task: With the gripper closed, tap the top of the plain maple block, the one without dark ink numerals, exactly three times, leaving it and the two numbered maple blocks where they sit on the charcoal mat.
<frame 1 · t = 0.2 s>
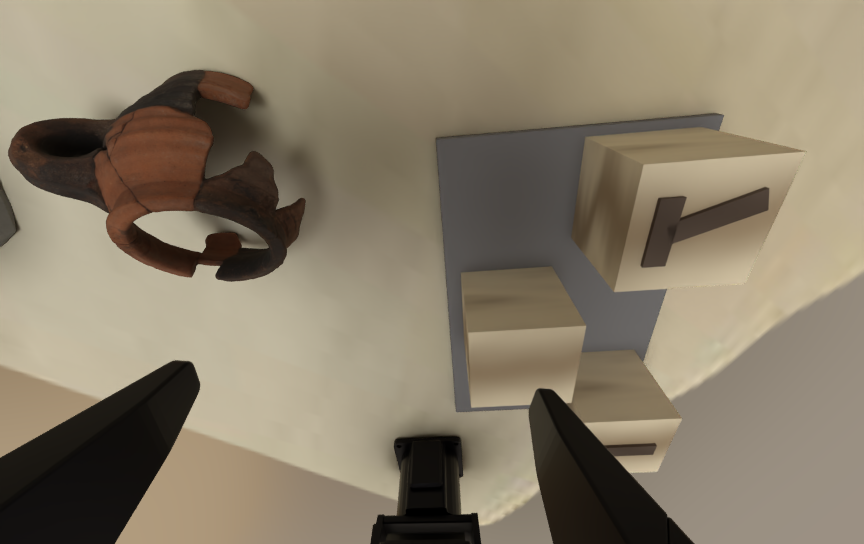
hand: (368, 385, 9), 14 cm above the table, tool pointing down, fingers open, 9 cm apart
charcoal mat: (552, 297, 25), on the table
numbered block seven: (630, 187, 20), point 1 cm above the table, touching charcoal mat
plain block: (504, 305, 24), point 1 cm above the table, touching charcoal mat
numbered block one: (588, 378, 28), point 1 cm above the table, touching charcoal mat
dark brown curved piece: (218, 162, 20), on the table
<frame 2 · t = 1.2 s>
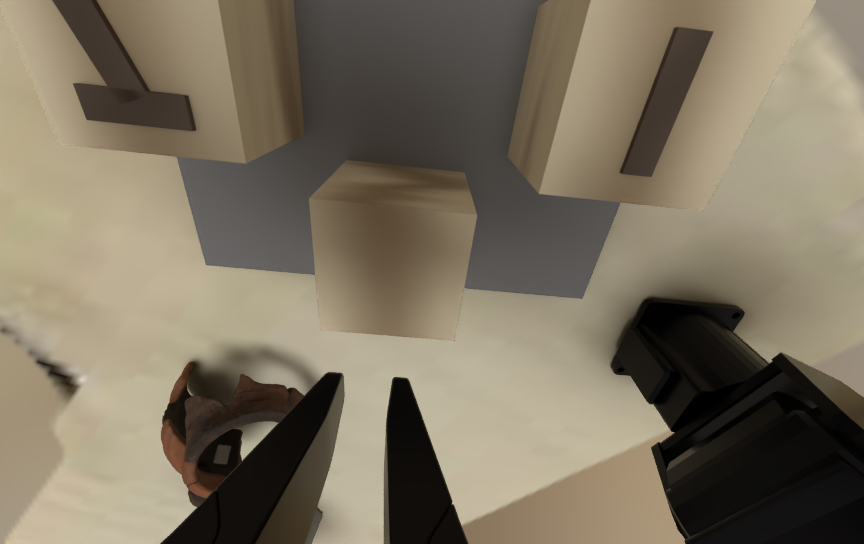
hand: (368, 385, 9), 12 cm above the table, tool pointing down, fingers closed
charcoal mat: (407, 153, 18), on the table
numbered block seven: (229, 54, 15), point 1 cm above the table, touching charcoal mat
plain block: (402, 221, 19), point 1 cm above the table, touching charcoal mat
numbered block one: (585, 96, 16), point 1 cm above the table, touching charcoal mat
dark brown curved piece: (250, 395, 28), on the table
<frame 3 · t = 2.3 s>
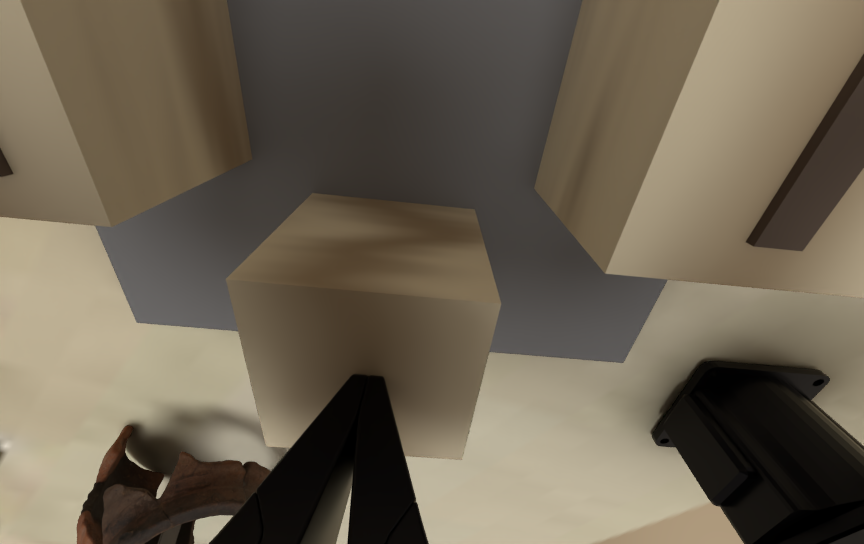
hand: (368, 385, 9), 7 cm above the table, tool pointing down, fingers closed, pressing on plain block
charcoal mat: (396, 183, 13), on the table
numbered block seven: (134, 46, 10), point 1 cm above the table, touching charcoal mat
plain block: (391, 270, 14), point 1 cm above the table, touching charcoal mat, gripper
numbered block one: (649, 106, 11), point 1 cm above the table, touching charcoal mat
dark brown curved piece: (207, 459, 23), on the table
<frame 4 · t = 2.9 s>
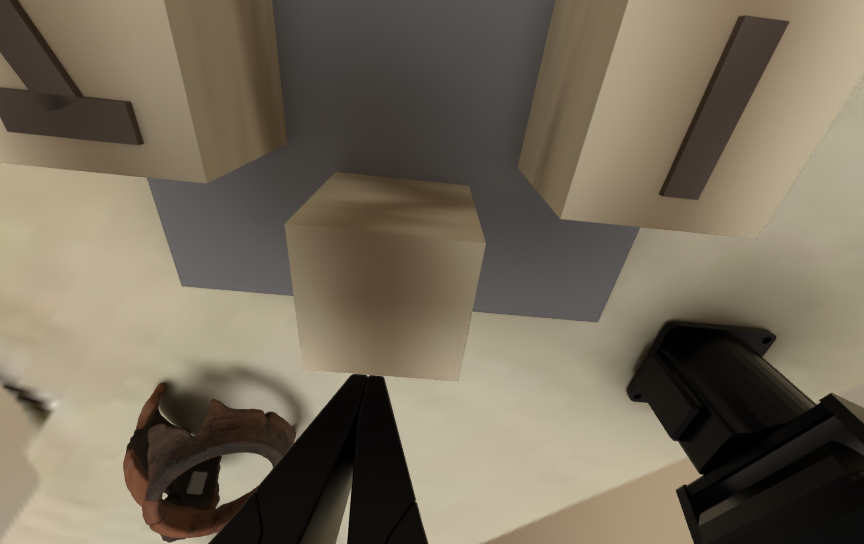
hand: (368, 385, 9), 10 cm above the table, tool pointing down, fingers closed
charcoal mat: (404, 164, 16), on the table
numbered block seven: (198, 52, 13), point 1 cm above the table, touching charcoal mat
plain block: (399, 239, 17), point 1 cm above the table, touching charcoal mat
numbered block one: (608, 100, 14), point 1 cm above the table, touching charcoal mat
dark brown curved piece: (229, 416, 25), on the table
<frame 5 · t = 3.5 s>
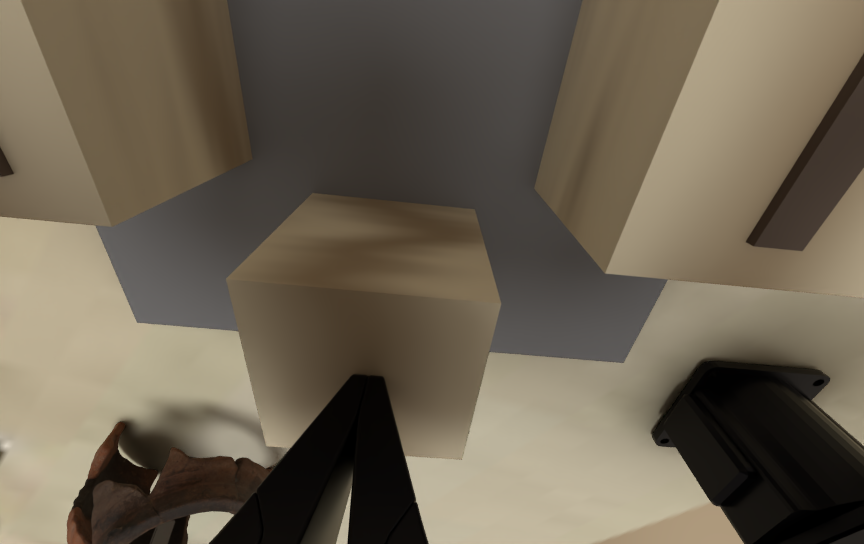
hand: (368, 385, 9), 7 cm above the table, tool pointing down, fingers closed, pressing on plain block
charcoal mat: (396, 183, 13), on the table
numbered block seven: (134, 46, 10), point 1 cm above the table, touching charcoal mat
plain block: (391, 270, 14), point 1 cm above the table, touching charcoal mat, gripper
numbered block one: (649, 106, 11), point 1 cm above the table, touching charcoal mat
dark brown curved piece: (200, 456, 23), on the table
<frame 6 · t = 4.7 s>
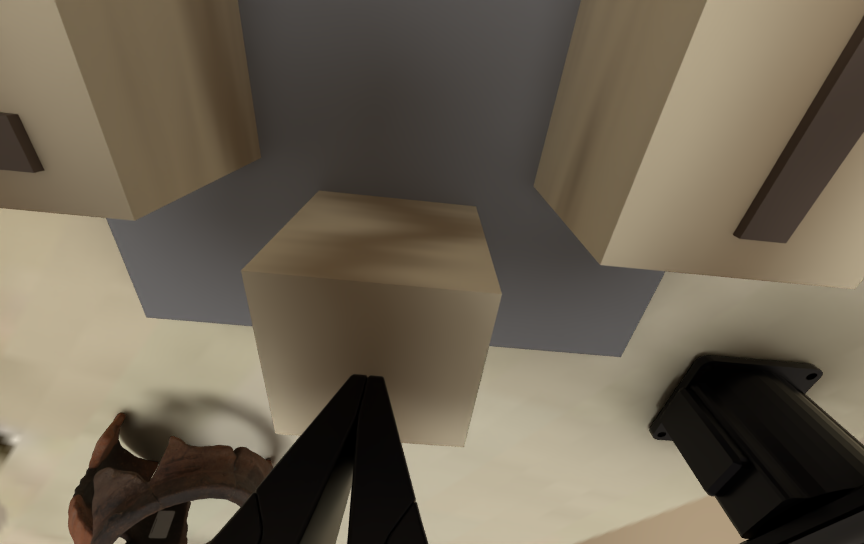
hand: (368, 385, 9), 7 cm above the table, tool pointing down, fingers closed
charcoal mat: (400, 181, 13), on the table
numbered block seven: (148, 48, 11), point 1 cm above the table, touching charcoal mat
plain block: (394, 266, 15), point 1 cm above the table, touching charcoal mat
numbered block one: (644, 106, 11), point 1 cm above the table, touching charcoal mat
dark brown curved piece: (200, 447, 23), on the table
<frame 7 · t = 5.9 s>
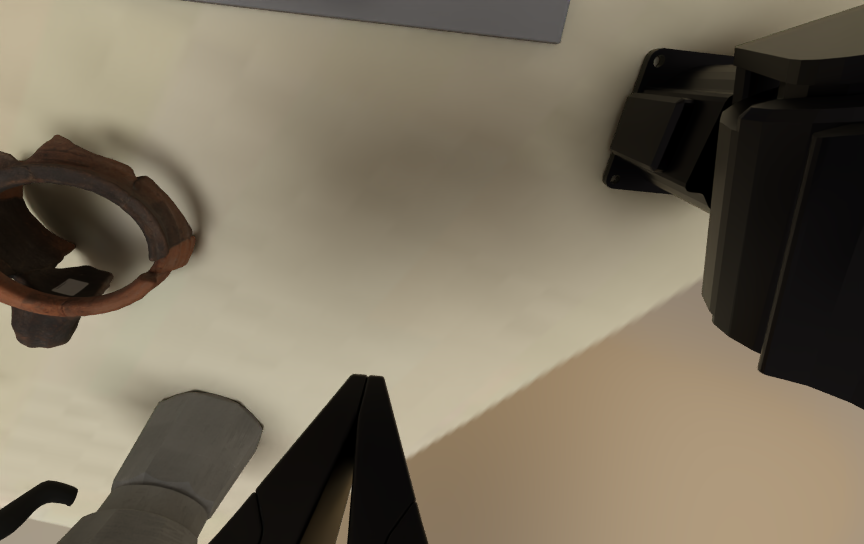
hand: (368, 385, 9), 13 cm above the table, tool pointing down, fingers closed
coffeepot: (202, 416, 30), on the table
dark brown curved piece: (118, 223, 21), on the table
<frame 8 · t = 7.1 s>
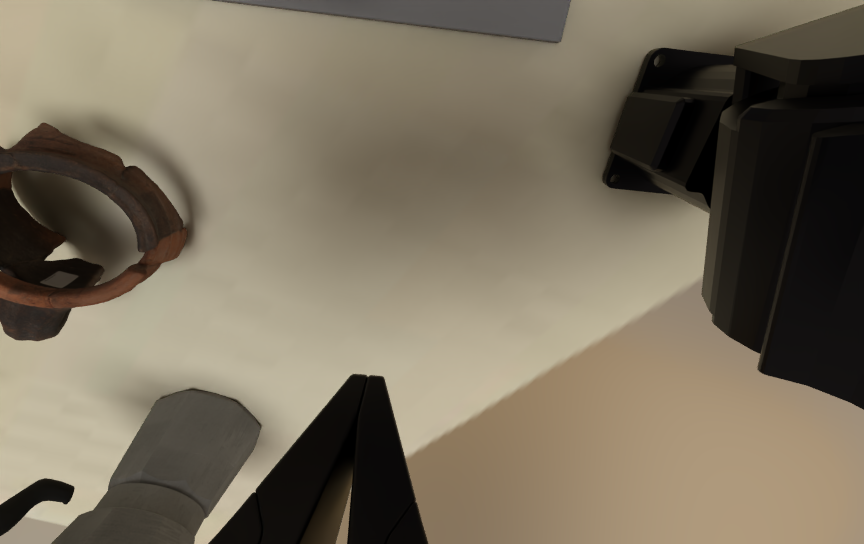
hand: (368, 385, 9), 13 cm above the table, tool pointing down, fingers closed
coffeepot: (200, 415, 30), on the table
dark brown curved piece: (109, 215, 21), on the table
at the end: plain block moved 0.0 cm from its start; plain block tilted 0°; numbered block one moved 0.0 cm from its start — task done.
